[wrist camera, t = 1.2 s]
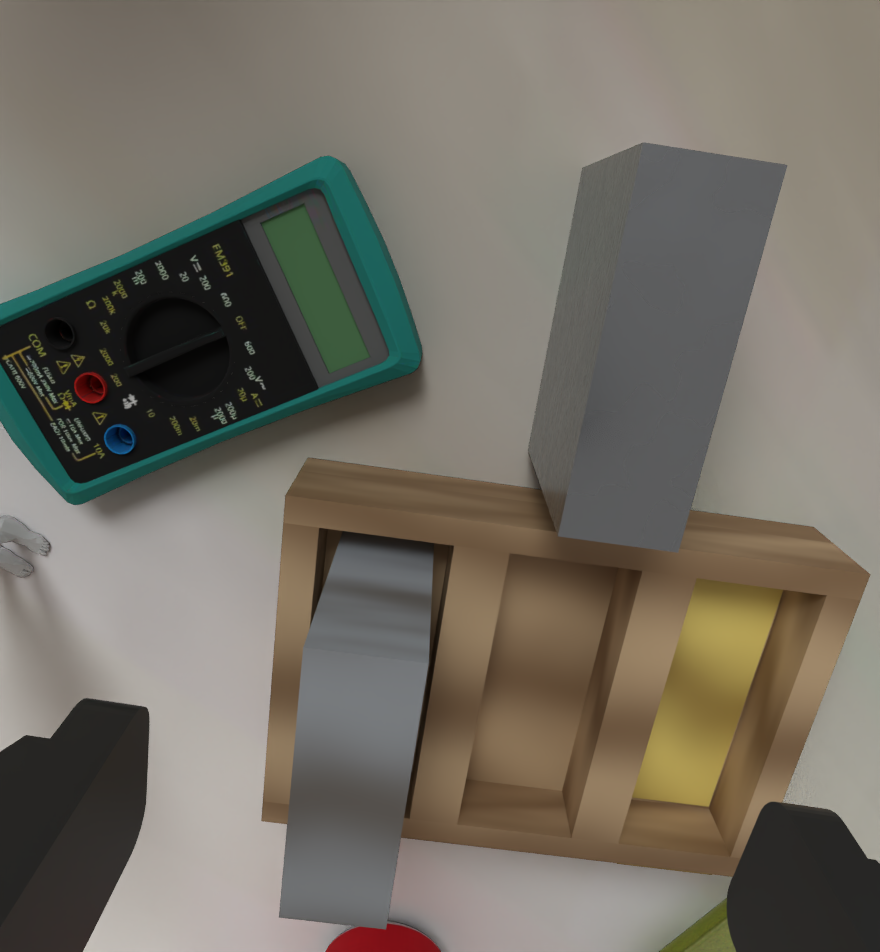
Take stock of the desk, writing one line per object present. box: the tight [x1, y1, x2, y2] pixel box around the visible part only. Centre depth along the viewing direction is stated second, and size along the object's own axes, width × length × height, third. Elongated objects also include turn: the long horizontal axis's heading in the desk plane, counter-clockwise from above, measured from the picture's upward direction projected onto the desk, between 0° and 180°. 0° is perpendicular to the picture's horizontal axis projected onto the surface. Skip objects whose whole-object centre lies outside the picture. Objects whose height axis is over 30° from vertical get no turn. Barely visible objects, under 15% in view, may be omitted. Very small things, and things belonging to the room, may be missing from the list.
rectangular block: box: [528, 143, 787, 553], centre depth 22 cm, size 10×3×8 cm, turn 172°
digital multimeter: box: [0, 156, 422, 505], centre depth 25 cm, size 7×15×3 cm, turn 112°
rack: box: [261, 458, 870, 929], centre depth 26 cm, size 14×20×10 cm
